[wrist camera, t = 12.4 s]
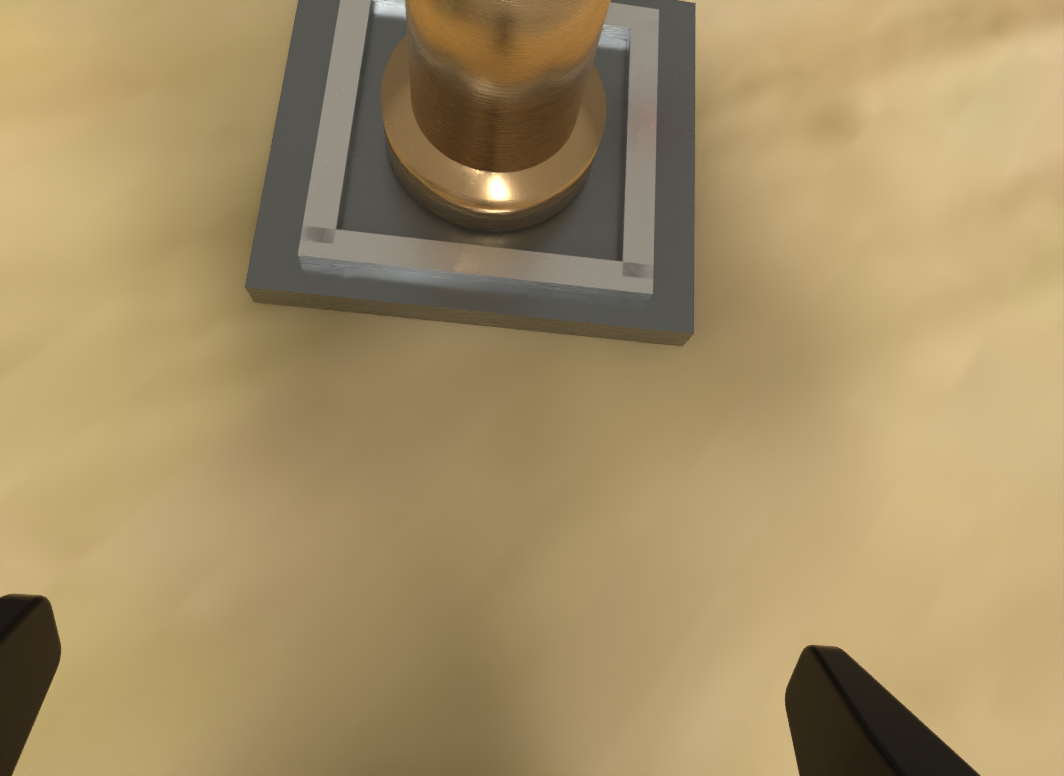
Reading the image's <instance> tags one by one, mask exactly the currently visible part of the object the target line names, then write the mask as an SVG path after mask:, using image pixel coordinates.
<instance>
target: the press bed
mask: <svg viewBox="0 0 1064 776" xmlns="http://www.w3.org/2000/svg"><path fill="white" fill-rule="evenodd" d="M406 35H407V26H406V9H405V0H298V5H297V11H296V16H295V22H294V27H293V32H292V38H291V43H290V48H289V54H288V59H287V65H286V70H285V75H284V81H283V86H282V91H281V97H280V102H279V108H278V113H277V118H276V124H275V129H274V134H273V140H272V145H271V151H270V156H269V161H268V167H267V172H266V177H265V183H264V188H263V194H262V199H261V204H260V210H259V215H258V220H257V226H256V231H255V237H254V242H253V247H252V253H251V258H250V263H249V269H248V274H247V280H246V285H245V288H246V289H247V291H248V292H249V294H250V296H251V297H252V299H253V301H254V302H259V303H269V304H278V305H288V306H298V307H308V308H317V309H327V310H337V311H347V312H356V313H366V314H376V315H385V316H395V317H405V318H415V319H424V320H434V321H444V322H454V323H463V324H473V325H483V326H492V327H502V328H512V329H522V330H531V331H541V332H551V333H561V334H570V335H580V336H590V337H599V338H609V339H619V340H629V341H638V342H648V343H658V344H668V345H677V346H683V345H684V344H685V342H686V341H687V340H688V339H689V338H690V337H691V336H692V335H693V334H694V177H695V3H691V2H684V1H677V0H611V1H610V5H609V8H608V12H607V15H606V19H605V22H604V26H603V29H602V33H601V36H600V40H599V43H598V47H597V50H596V54H595V57H594V61H593V63H594V65H595V67H596V69H597V71H598V73H599V75H600V78H601V81H602V83H603V87H604V91H605V96H606V107H607V110H606V122H605V127H604V131H603V135H602V138H601V141H600V143H599V146H598V149H597V152H596V155H595V158H594V161H593V164H592V166H591V169H590V172H589V174H588V177H587V179H586V181H585V183H584V185H583V186H582V188H581V190H580V191H579V192H578V194H577V195H576V196H575V198H574V199H573V200H572V201H571V202H570V203H569V204H568V205H567V206H566V207H565V208H563V209H562V210H561V211H559V212H558V213H556V214H555V215H554V216H552V217H550V218H548V219H546V220H544V221H542V222H540V223H537V224H534V225H532V226H529V227H524V228H520V229H516V230H506V231H486V230H478V229H472V228H468V227H464V226H460V225H457V224H455V223H452V222H450V221H447V220H445V219H443V218H441V217H439V216H437V215H435V214H434V213H432V212H431V211H429V210H428V209H426V208H425V207H424V206H422V205H421V204H420V203H419V202H418V201H417V200H415V199H414V198H413V197H412V196H411V195H410V193H409V192H408V191H407V190H406V189H405V188H404V186H403V185H402V183H401V182H400V180H399V179H398V177H397V176H396V174H395V172H394V169H393V167H392V165H391V163H390V159H389V156H388V153H387V147H386V140H385V132H384V123H383V115H382V106H381V85H382V79H383V74H384V71H385V68H386V65H387V62H388V60H389V58H390V57H391V55H392V53H393V51H394V50H395V48H396V47H397V45H398V44H399V43H400V41H401V40H402V39H403V38H404V37H405V36H406Z"/></svg>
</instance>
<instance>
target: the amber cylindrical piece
mask: <svg viewBox="0 0 1064 776" xmlns="http://www.w3.org/2000/svg"><path fill="white" fill-rule="evenodd" d="M610 1H611V0H405V9H406V26H407V35H406V36H405V37H404V38H403V39H402V40H401V41H400V43H399V44H398V45H397V47H396V48H395V50H394V51H393V53H392V55H391V57H390V58H389V60H388V62H387V65H386V68H385V71H384V74H383V79H382V85H381V106H382V115H383V123H384V132H385V140H386V147H387V153H388V156H389V159H390V163H391V165H392V167H393V169H394V172H395V174H396V176H397V177H398V179H399V180H400V182H401V183H402V185H403V186H404V188H405V189H406V190H407V191H408V192H409V193H410V195H411V196H412V197H413V198H414V199H415V200H417V201H418V202H419V203H420V204H421V205H422V206H424V207H425V208H426V209H428V210H429V211H431V212H432V213H434V214H435V215H437V216H439V217H441V218H443V219H445V220H447V221H450V222H452V223H455V224H457V225H460V226H464V227H468V228H472V229H478V230H486V231H506V230H516V229H520V228H524V227H529V226H532V225H534V224H537V223H540V222H542V221H544V220H546V219H548V218H550V217H552V216H554V215H555V214H556V213H558V212H559V211H561V210H562V209H563V208H565V207H566V206H567V205H568V204H569V203H570V202H571V201H572V200H573V199H574V198H575V196H576V195H577V194H578V192H579V191H580V190H581V188H582V186H583V185H584V183H585V181H586V179H587V177H588V174H589V172H590V169H591V166H592V164H593V161H594V158H595V155H596V152H597V149H598V146H599V143H600V141H601V138H602V135H603V131H604V127H605V122H606V110H607V107H606V96H605V91H604V87H603V83H602V81H601V78H600V75H599V73H598V71H597V69H596V67H595V65H594V63H593V61H594V57H595V54H596V50H597V47H598V43H599V40H600V36H601V33H602V29H603V26H604V22H605V19H606V15H607V12H608V8H609V5H610Z"/></svg>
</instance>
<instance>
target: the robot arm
mask: <svg viewBox="0 0 1064 776" xmlns="http://www.w3.org/2000/svg"><path fill="white" fill-rule="evenodd" d="M60 656H61V643H60V639H59V635H58V631H57V627H56V622H55V618H54V614H53V610H52V606H51V603H50V601H49V600H48V599H47V598H46V597H44V596H41V595H26V594H8V595H5V596H2V597H0V776H12V774H13V772H14V770H15V767H16V765H17V763H18V760H19V758H20V755H21V753H22V751H23V748H24V746H25V744H26V741H27V739H28V737H29V734H30V732H31V729H32V727H33V725H34V722H35V720H36V718H37V715H38V713H39V711H40V708H41V706H42V703H43V701H44V699H45V696H46V694H47V692H48V689H49V687H50V685H51V682H52V680H53V677H54V675H55V673H56V670H57V668H58V665H59V661H60ZM785 707H786V712H787V717H788V722H789V727H790V732H791V736H792V741H793V746H794V751H795V756H796V761H797V766H798V770H799V775H800V776H980V775H979V774H978V773H977V772H976V771H975V770H974V769H973V768H972V767H971V766H970V765H968V764H967V763H966V762H965V761H964V760H963V759H962V758H961V757H960V756H959V755H958V754H956V753H955V752H954V751H953V750H952V749H951V748H950V747H949V746H948V745H947V744H945V743H944V742H943V741H942V740H941V739H940V738H939V737H938V736H937V735H936V734H935V733H933V732H932V731H931V730H930V729H929V728H928V727H927V726H926V725H925V724H924V723H923V722H921V721H920V720H919V719H918V718H917V717H916V716H915V715H914V714H913V713H912V712H911V711H909V710H908V709H907V708H906V707H905V706H904V705H903V704H902V703H901V702H900V701H898V700H897V699H896V698H895V697H894V696H893V695H892V694H891V693H890V692H889V691H888V690H886V689H885V688H884V687H883V686H882V685H881V684H880V683H879V682H878V681H877V680H876V679H874V678H873V677H872V676H871V675H870V674H869V673H868V672H867V671H866V670H865V669H864V668H862V667H861V666H860V665H859V664H858V663H857V662H856V661H855V660H854V659H853V658H851V657H850V656H849V655H848V654H847V653H846V652H845V651H843V650H842V649H840V648H838V647H835V646H820V645H809V646H807V647H806V648H804V649H803V651H802V653H801V655H800V657H799V660H798V662H797V664H796V667H795V669H794V671H793V674H792V676H791V678H790V681H789V683H788V685H787V688H786V693H785Z"/></svg>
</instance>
